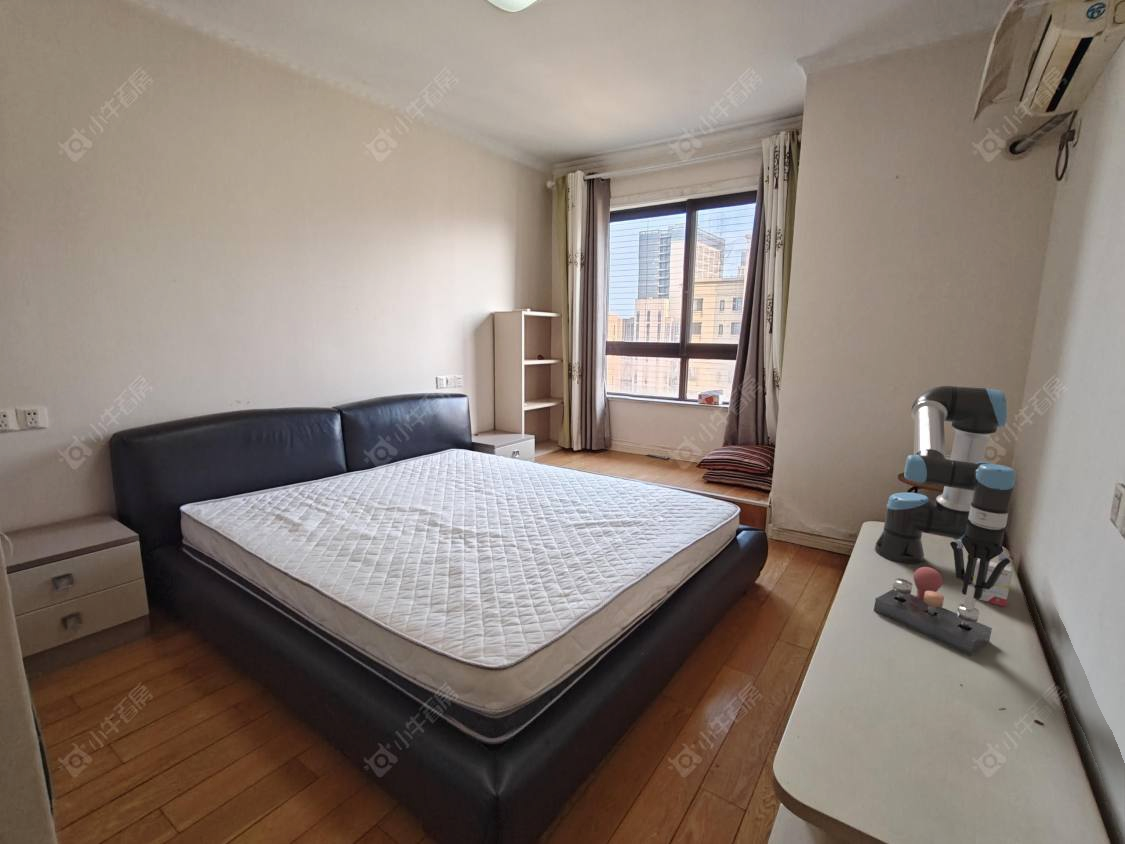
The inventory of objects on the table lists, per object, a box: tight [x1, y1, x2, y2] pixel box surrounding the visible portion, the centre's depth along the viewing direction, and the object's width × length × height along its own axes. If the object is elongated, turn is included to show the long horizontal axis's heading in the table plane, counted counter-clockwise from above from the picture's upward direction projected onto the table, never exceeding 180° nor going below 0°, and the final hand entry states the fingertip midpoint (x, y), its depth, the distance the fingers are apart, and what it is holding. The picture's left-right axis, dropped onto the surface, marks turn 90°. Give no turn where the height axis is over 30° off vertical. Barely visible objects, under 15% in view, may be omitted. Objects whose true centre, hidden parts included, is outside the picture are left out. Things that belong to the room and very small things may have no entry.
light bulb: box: [912, 566, 943, 600], centre depth 153 cm, size 7×7×12 cm
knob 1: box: [892, 578, 913, 602], centre depth 149 cm, size 4×4×6 cm
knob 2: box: [923, 591, 945, 616], centre depth 142 cm, size 4×4×6 cm
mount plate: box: [873, 588, 993, 657], centre depth 143 cm, size 12×24×4 cm, turn 32°
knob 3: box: [956, 603, 980, 631], centre depth 136 cm, size 4×4×6 cm
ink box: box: [972, 558, 1014, 608], centre depth 157 cm, size 9×5×12 cm, turn 46°
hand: (969, 607), depth 135 cm, fingers closed
